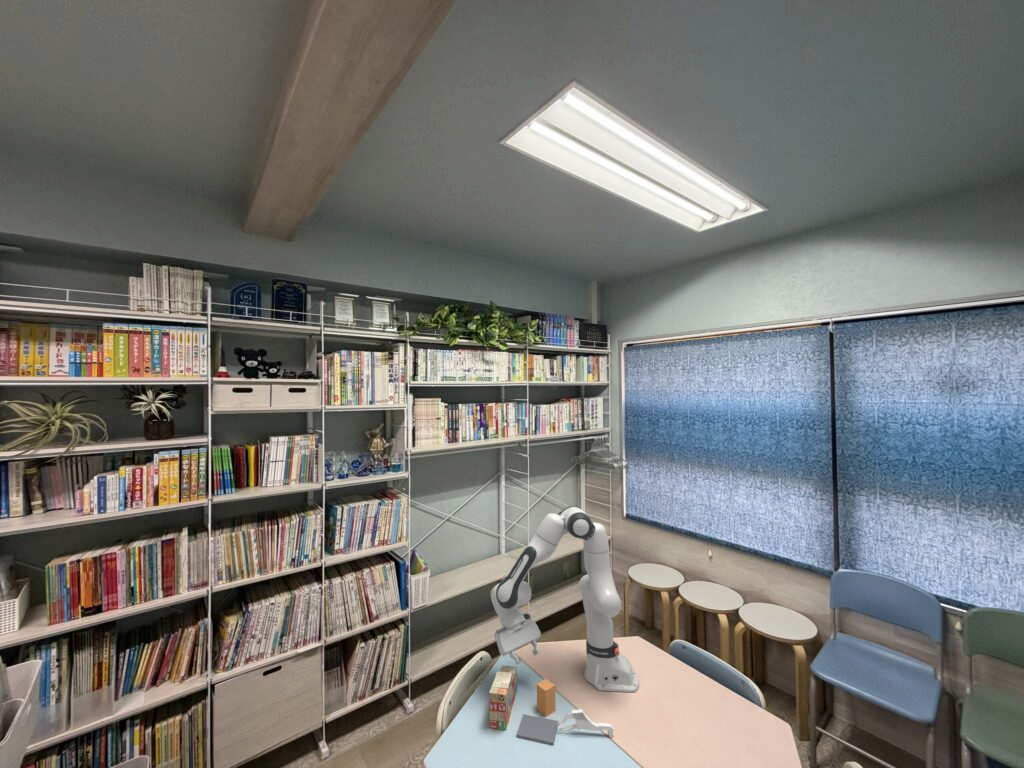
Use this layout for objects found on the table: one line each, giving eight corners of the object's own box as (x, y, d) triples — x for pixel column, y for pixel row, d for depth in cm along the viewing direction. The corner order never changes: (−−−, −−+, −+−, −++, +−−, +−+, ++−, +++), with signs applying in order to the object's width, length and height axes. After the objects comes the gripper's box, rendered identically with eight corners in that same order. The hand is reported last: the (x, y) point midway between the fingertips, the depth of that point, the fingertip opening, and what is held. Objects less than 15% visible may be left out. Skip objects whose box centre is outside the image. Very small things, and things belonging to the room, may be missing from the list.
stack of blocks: (502, 688, 161) (502, 657, 162) (517, 690, 160) (516, 658, 161) (489, 728, 140) (489, 691, 141) (506, 731, 139) (506, 694, 140)
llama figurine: (567, 753, 137) (615, 736, 136) (554, 720, 138) (602, 702, 137) (567, 749, 139) (615, 732, 137) (554, 716, 140) (601, 699, 139)
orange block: (546, 703, 152) (545, 678, 153) (555, 710, 149) (555, 685, 149) (536, 709, 149) (536, 684, 150) (546, 716, 146) (545, 690, 146)
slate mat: (558, 723, 142) (558, 721, 142) (553, 745, 133) (553, 742, 133) (523, 716, 146) (523, 714, 146) (516, 737, 136) (516, 734, 136)
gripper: (496, 628, 159) (511, 665, 150) (533, 612, 172) (549, 646, 163) (489, 635, 162) (504, 672, 153) (526, 619, 175) (542, 652, 166)
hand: (527, 658), depth 158 cm, fingers open, 8 cm apart
